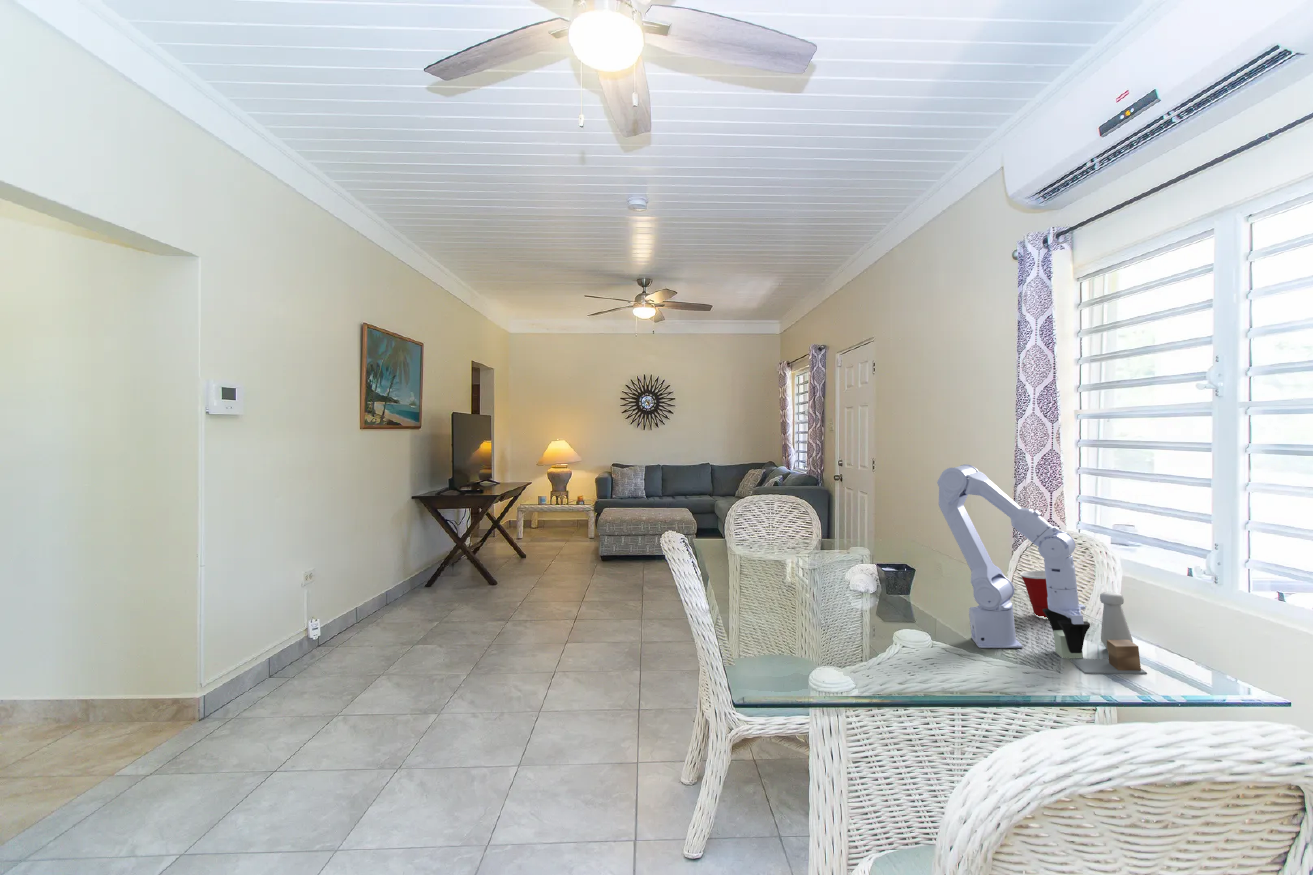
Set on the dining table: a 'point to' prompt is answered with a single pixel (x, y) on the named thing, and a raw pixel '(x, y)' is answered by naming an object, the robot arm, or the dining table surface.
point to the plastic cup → (1036, 590)
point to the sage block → (1063, 646)
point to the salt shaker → (1113, 618)
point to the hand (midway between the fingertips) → (1068, 646)
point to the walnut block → (1123, 655)
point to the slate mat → (1101, 667)
